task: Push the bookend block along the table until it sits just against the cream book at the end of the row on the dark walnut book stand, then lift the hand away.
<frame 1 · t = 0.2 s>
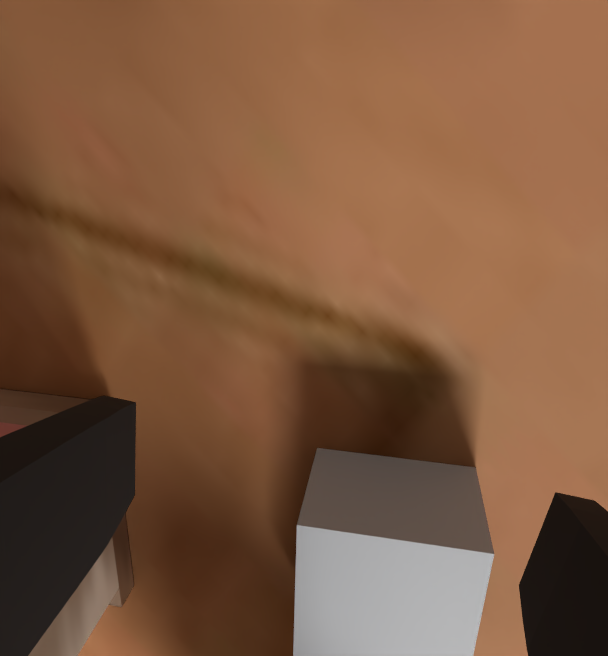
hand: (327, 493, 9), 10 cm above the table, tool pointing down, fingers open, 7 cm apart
bookend block: (385, 535, 22), on the table
book stand: (11, 484, 24), on the table
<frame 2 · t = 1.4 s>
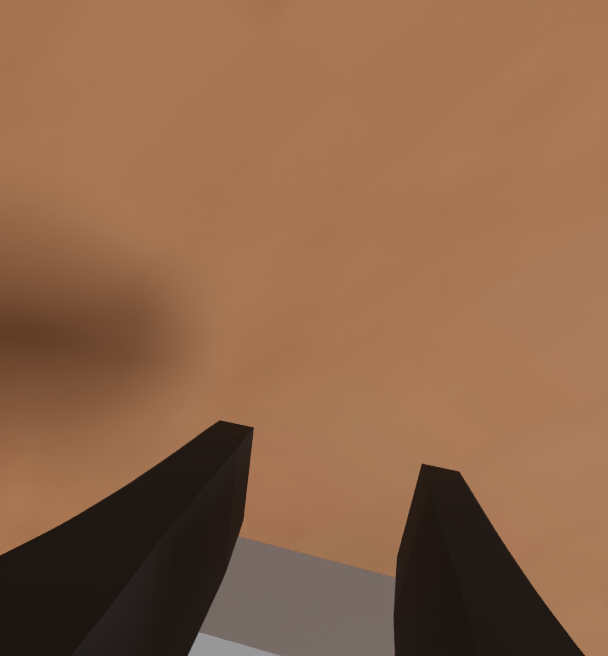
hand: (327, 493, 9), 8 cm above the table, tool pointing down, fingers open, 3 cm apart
bookend block: (308, 607, 22), on the table
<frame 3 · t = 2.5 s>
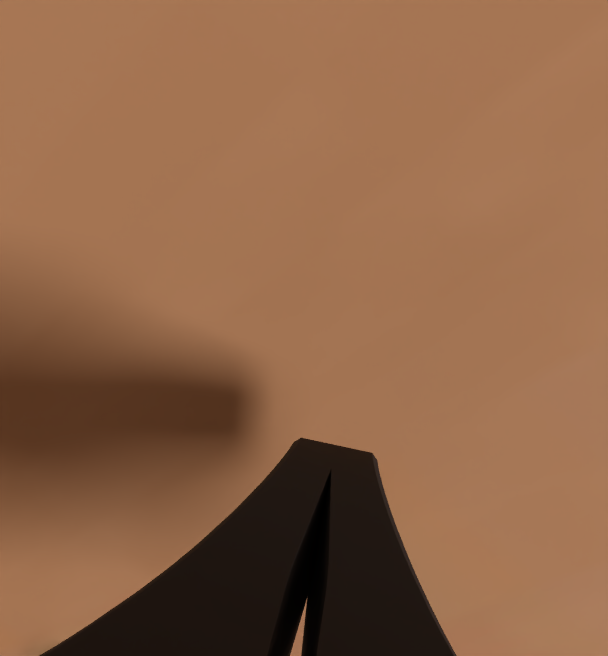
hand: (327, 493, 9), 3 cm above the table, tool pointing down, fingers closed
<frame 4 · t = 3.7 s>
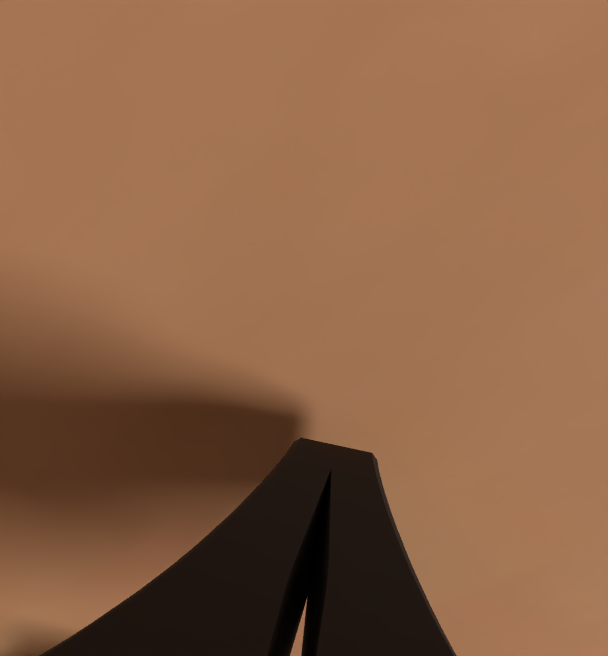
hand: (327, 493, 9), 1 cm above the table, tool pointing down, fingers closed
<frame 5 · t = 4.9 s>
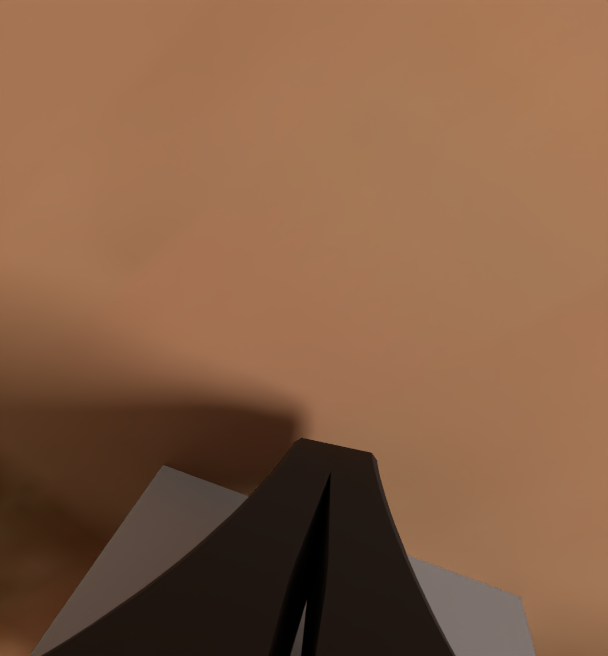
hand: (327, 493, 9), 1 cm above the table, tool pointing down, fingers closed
bookend block: (298, 621, 12), on the table, touching gripper
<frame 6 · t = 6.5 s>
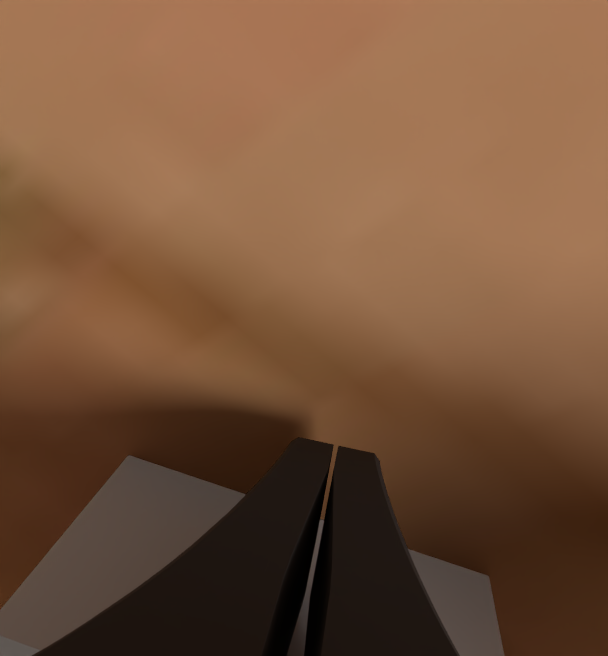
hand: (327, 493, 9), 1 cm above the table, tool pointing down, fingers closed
bookend block: (274, 602, 12), on the table, touching gripper
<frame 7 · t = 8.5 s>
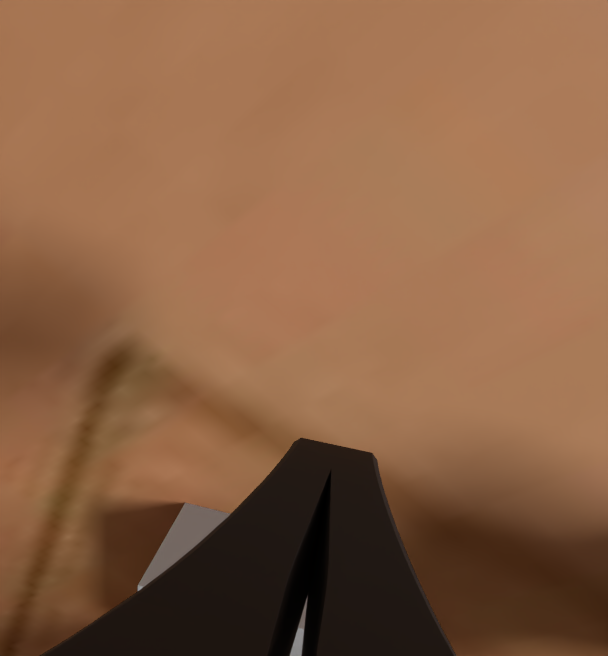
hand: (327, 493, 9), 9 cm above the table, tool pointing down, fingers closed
bookend block: (269, 574, 23), on the table
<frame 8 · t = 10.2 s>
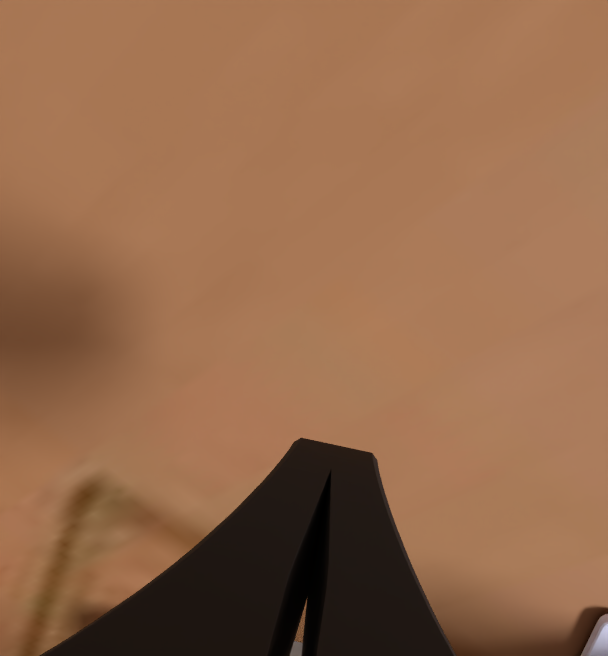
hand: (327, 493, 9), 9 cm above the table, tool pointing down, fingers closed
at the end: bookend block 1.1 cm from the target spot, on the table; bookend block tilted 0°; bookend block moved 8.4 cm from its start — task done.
